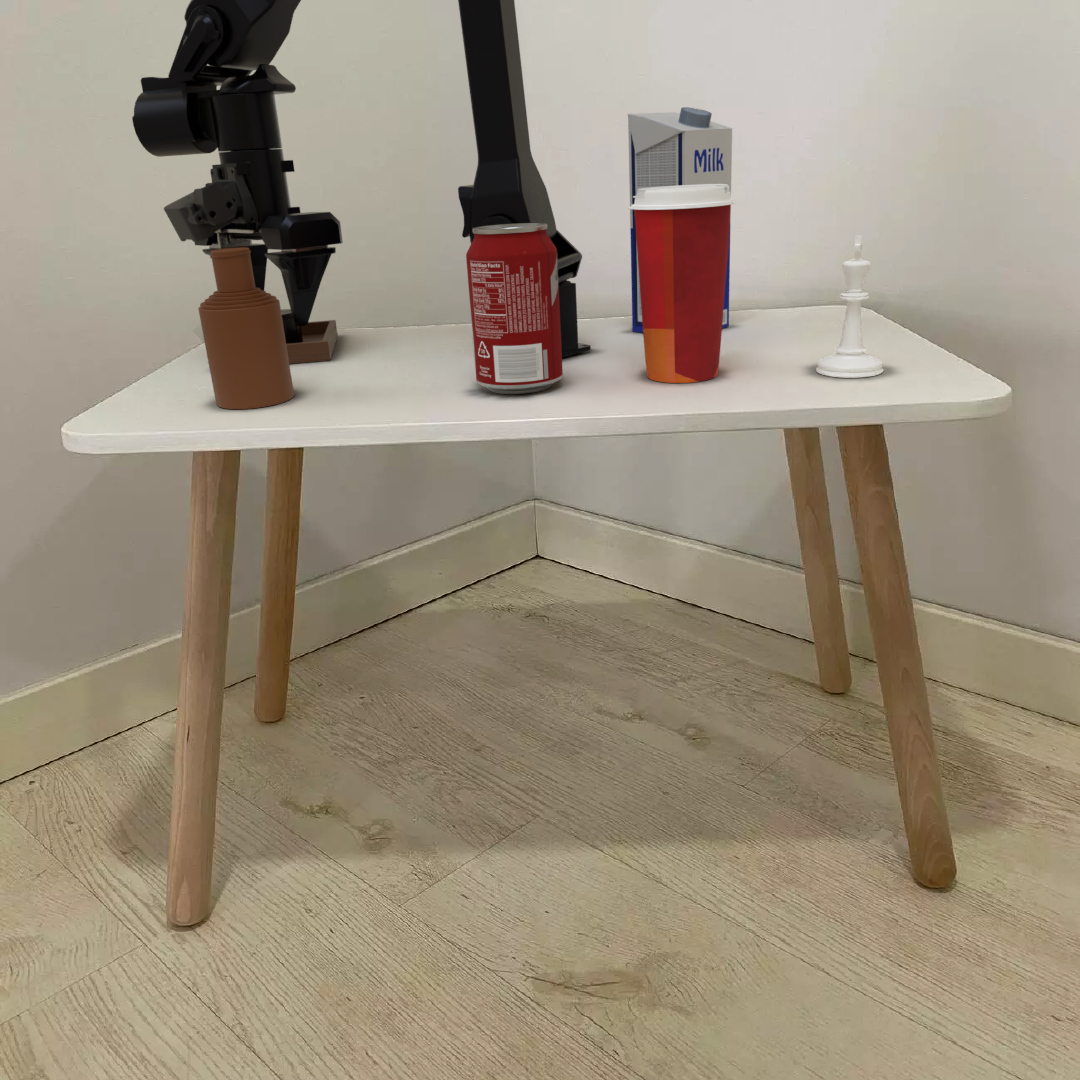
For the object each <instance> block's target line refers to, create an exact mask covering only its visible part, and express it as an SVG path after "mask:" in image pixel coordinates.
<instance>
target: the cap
mask: <svg viewBox="0 0 1080 1080" xmlns="http://www.w3.org/2000/svg"><path fill="white" fill-rule="evenodd" d="M281 314H282V321H283V327H284V334H285V340H286V344H289V343H301V342H303V338H302V331H301V326H296V324H295V321H294V318H293V315H292V312H291V308H283V309H282V308H281Z"/></svg>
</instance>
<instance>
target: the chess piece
mask: <svg viewBox="0 0 1080 1080" xmlns="http://www.w3.org/2000/svg"><path fill="white" fill-rule="evenodd" d="M862 240H863V235H862V234H855V235H854V245H853V258H850V259H849V260H846V261H843V262H842V266H841V267H842V270H843V274H844V278H845V283H846V286H847V289H846V291H845V292H841V293H840V295H839V299H840V300H842V301H847V303H846V309H845V310H846V312H845V316H844V322H843V327H842V332H841V337H840V342H839V346H838V347H835V349H834V350H835V352H836V353H833V354H828V355H826V356H824V357H821V358H820V359H818V361H817V367H816V369H815V371H816V372H817V374H820V375H823V376H826V377H834V378H845V379H846V378H848V379H851V378H852V379H855V378H856V379H857V378H858V379H859V378H869V377H875V376H878V375H880V374H883V373H884V368H883V364H884V362H883V360H882V359H880V357H877V356H874V355H872V354H868V353H865V352H867V350H868V349H867V348H866V347H864V344H863V343H864V342H863V331H862V330H863V328H862V309H861V307H862V305H861V302H862V301H865V300H868V299H870V296H869V295H870V294H869V292H866V291H864V290H863V286H864V284H865V282H866V278H867V275H868V273H869V271H870V269H871V266H872V263H871V262H870V261H869V260H866V259H864V258H862V257H861V255H862V249H863V248H862V247H863V241H862Z"/></svg>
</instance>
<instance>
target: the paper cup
mask: <svg viewBox="0 0 1080 1080" xmlns="http://www.w3.org/2000/svg"><path fill="white" fill-rule="evenodd" d="M633 198H635V202H634V204H633V205H631V207H630V206H628V209H629V210H630V209H634V211H635V225H636V239H637V253H638V268H639V282H640V296H641V310H642V323H643V333H642V334H643V335H642V336H643V349H644V357H645V358H644V360H645V369H646V375H647V378H648V379H649V380H651V381H655V382H659V383H667V384H668V383H669V384H691V383H697V382H705V381H709V380H712V379H715V378H716V377H718V374H719V368H720V367H719V366H720V358H721V345H722V335H723V334H722V333H723V328H722V321H723V307H724V294H725V282H726V271H727V260H728V248H729V231H730V232H731V222H730V212H731V213H732V211H731V210H732V205H735V204H736V202H735V199H734V198H732V193H731V194H730V191H729V186H728V184H700V185H680V186H664V187H651V188H642V189H638V192H637V195H636V196H633Z"/></svg>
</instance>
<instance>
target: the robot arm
mask: <svg viewBox="0 0 1080 1080" xmlns="http://www.w3.org/2000/svg"><path fill="white" fill-rule="evenodd" d="M301 1H302V0H190V1H189V3H188V5H187V7H186V9H185V13H184V21H185V27H184V30H183V33H182V36H181V38H180V41H179V44H178V48H177V50H176V54H175V55H174V59H173V61H172V64H171V67H170V69H169V72H168V77H159V76H145V77H141V79H140V85H141V89H142V91H141V92H140V94H139V95H138V96H137V97H136V100H135V102H134V106H133V115H132V116H131V120H132V125H133V129H134V132H135V135H136V137H137V139H138V142H140V144H141V145H142V147H143V148H144V149H145V150H146V152H147V153H149V154H151V155H152V156H155V157H159V158H163V157H175V156H176V157H177V156H188V155H189V156H190V155H191V156H192V155H203V154H204V155H206V154H211V153H213V152H214V153H215V151H216V150H217V152H218V157H219V164H212V165H211V167H212V168H210V170H209V171H210V179H211V182H206V183H205V184H204V185H205V186H203V187H200V188H195V189H194V190H193V191H192V192H190V193H188V194H185V195H184V196H182V197H180V198H178V199H176V200H174V201H172V202H170V203H168V204H167V205H165V206H164V207H163V211H164V212H165V214H166V216H167V218H168V219H169V222H170V224H171V225H172V227H173V229H174V231H175V232H176V234H177V236H178V239H179V240H180V242H186V241H187V240H188V241H192V242H194V246H198V247H199V246H201V247H202V246H205V247H208V248H202V249H201V250H202V252H203V253H204V254H205V255H208V256H209V257H210V256H211V251H212V250H217V249H226V248H241V247H246V248H249V250H251V253H250V257H251V263H252V269H253V275H254V281H255V287H257V288H260V290H264V291H265V287H266V286H265V285H266V275H267V264H268V261H270V262H271V263H272V264H273V265H274V266H276V268H278V269H279V271H280V273H281V277H282V281H283V285H284V289H285V293H286V297H287V301H288V304H289V309H291V312H292V315H293V318H294V321H295V324H296V326H305V325H307V324H308V322H310V318H311V315H312V312H313V308H314V305H315V302H316V299H317V295H318V292H319V289H320V286H321V283H322V280H323V277H324V275H325V273H326V269H327V266H328V265H329V262H330V259H331V257H332V255H333V254H336V251H337V248H336V246H334V245H341V244H343V234H342V233H343V232H342V227H341V226H342V225H341V221H340V220H339V219H338V218H337V217H336V216H335V215H334V214H333V213H332V212H331V211H308V212H306V211H305V212H301V207H300V206H291V198H290V192H289V185H288V179H287V173H295V172H296V171H295V165H294V160H293V159H288V160H285V158H284V151H283V144H282V137H281V131H280V130H281V129H280V124H279V116H278V109H277V104H276V102H277V101H276V95H285V94H294V93H295V92H296V89H297V87H296V85H295V83H293V82H291V81H290V80H289V79H288V78H286V77H285V76H284V75H283V74H282V73H280V71H279V70H278V69H277V67H276V66H275V65H274V64H271V63H272V61H273V60H274V58H275V57H276V55H277V54H278V52H279V50H280V49H281V47H282V45H283V43H284V42H285V40H286V39H287V37H288V35H289V34H290V31H291V28H292V27H291V26H292V22H293V18H294V13H295V12H296V9H298V6H299V5H300V3H301ZM457 3H458V11H459V19H460V26H461V27H460V28H461V34H462V41H463V50H464V57H465V66H466V73H467V81H468V89H469V96H470V97H469V98H470V104H471V111H472V112H471V114H472V121H473V128H474V135H475V143H476V151H477V166H476V171H475V176H474V180H473V184H467V185H460V186H458V188H457V192H458V193H457V194H458V200H459V203H460V206H461V210H462V214H463V228H462V232H461V233H462V234H461V237H462V238H469V241H470V244H471V243H472V241H473V239H474V233H473V228H476V227H481V226H490V225H501V224H517V223H545V224H547V229H546V233H547V235H548V236H549V238H550V239H551V241H552V242H553V244H554V245H555V247H556V249H557V264H558V285H559V307H560V328H561V350H562V358H564V357H568V356H569V357H570V356H573V355H577V354H581V353H584V352H585V353H586V352H589V351H592V346H591V344H587V343H581V342H579V330H578V305H577V304H578V303H577V301H578V300H577V283H576V282H571V281H570V279H574V278H576V277H578V274H579V270H580V266H581V263H582V259H583V254H582V253H581V252H580V251H579V249H577V248H576V247H575V245H573V243H571V242H570V241H569V240H568V239H567V238H566V237H565V236H564V235H563V234H562V233H561V232H560V231H559V230H558V229H557V224H556V219H555V215H554V211H553V208H552V205H551V201H550V197H549V193H548V190H547V187H546V184H545V183H544V180H543V177H542V176H541V174H540V172H539V169H538V167H537V165H536V161H535V160H534V158H533V154H532V150H531V142H530V132H529V131H530V130H529V123H528V115H527V114H528V113H527V105H526V96H525V87H524V77H523V69H522V68H523V67H522V60H521V59H522V58H521V50H520V41H519V40H520V39H519V32H518V31H519V30H518V21H517V13H516V4H515V0H457ZM252 72H253V73H252ZM218 86H219V89H218ZM253 241H262V242H263V243H253ZM331 245H333V246H331ZM269 250H275V251H273V252H268V251H269Z"/></svg>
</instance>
